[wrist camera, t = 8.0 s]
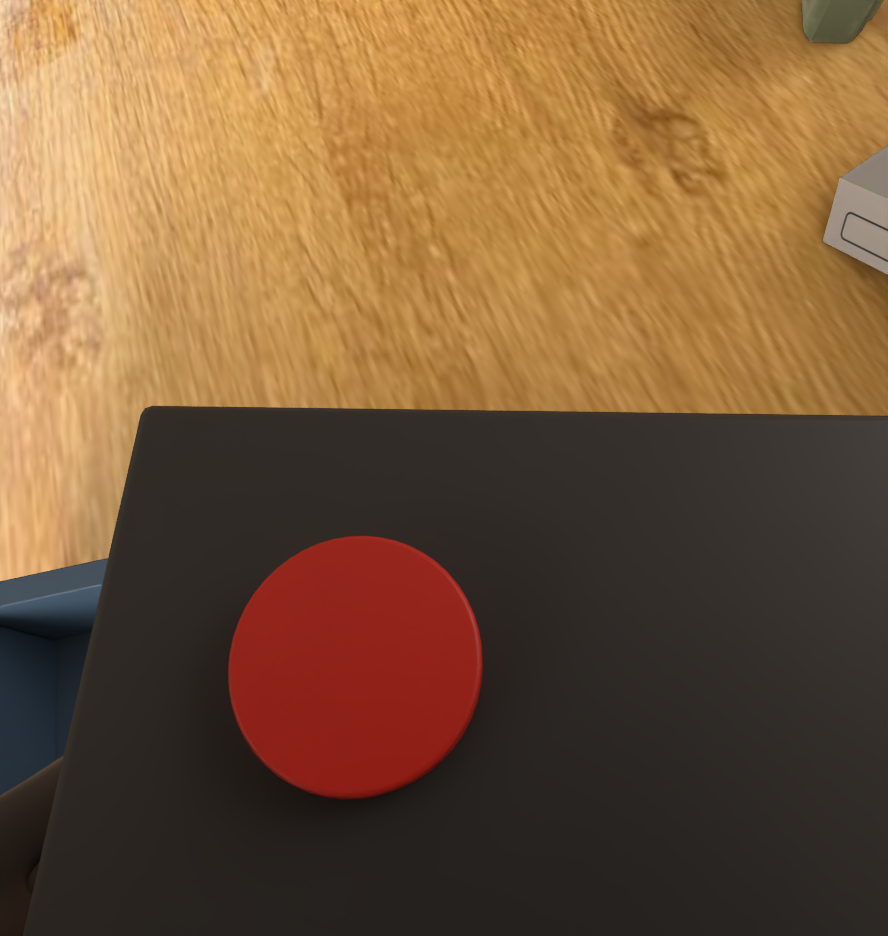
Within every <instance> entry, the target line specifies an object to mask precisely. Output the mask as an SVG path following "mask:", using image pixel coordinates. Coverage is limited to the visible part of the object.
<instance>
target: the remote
mask: <svg viewBox="0 0 888 936" xmlns="http://www.w3.org/2000/svg"><path fill="white" fill-rule="evenodd" d="M23 936H888V416H854V415H780V414H706V413H632V412H558V411H485V410H411V409H337V408H263V407H189V406H151V407H148V408H145V409H144V411H143V412H142V414H141V416H140V421H139V425H138V430H137V434H136V438H135V443H134V447H133V452H132V456H131V460H130V465H129V469H128V474H127V478H126V482H125V487H124V491H123V496H122V500H121V505H120V509H119V513H118V518H117V522H116V527H115V531H114V535H113V540H112V544H111V549H110V553H109V558H108V562H107V566H106V571H105V575H104V580H103V584H102V588H101V593H100V597H99V602H98V606H97V610H96V615H95V619H94V624H93V628H92V633H91V637H90V641H89V646H88V650H87V655H86V659H85V663H84V668H83V672H82V677H81V681H80V686H79V690H78V694H77V699H76V703H75V708H74V712H73V716H72V721H71V725H70V730H69V734H68V738H67V743H66V747H65V752H64V756H63V761H62V765H61V769H60V774H59V778H58V783H57V787H56V791H55V796H54V800H53V805H52V809H51V813H50V818H49V822H48V827H47V831H46V836H45V840H44V844H43V849H42V853H41V858H40V862H39V866H38V871H37V875H36V880H35V884H34V889H33V893H32V897H31V902H30V906H29V911H28V915H27V919H26V924H25V928H24V933H23Z"/></svg>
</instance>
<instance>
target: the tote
mask: <svg viewBox="0 0 888 936" xmlns="http://www.w3.org/2000/svg"><path fill="white" fill-rule="evenodd" d="M107 562H108V558H107V559H102V560H97V561H93V562H88V563H84V564H79V565H74V566H70V567H65V568H60V569H56V570H51V571H47V572H42V573H37V574H33V575H28V576H23V577H19V578H14V579H10V580H5V581H0V796H1V795H2V794H4V793H5V792H7V791H9V790H10V789H12V788H14V787H15V786H17V785H19V784H20V783H22V782H24V781H25V780H27V779H29V778H30V777H32V776H33V775H35V774H36V773H38V772H39V771H41V770H42V769H44V768H45V767H47V766H49V765H50V764H52V763H53V762H55V761H56V760H58V759H59V758H61V757H62V756H64V752H65V747H66V743H67V738H68V734H69V730H70V725H71V721H72V716H73V712H74V708H75V703H76V699H77V694H78V690H79V686H80V681H81V677H82V672H83V668H84V663H85V659H86V655H87V650H88V646H89V641H90V637H91V633H92V628H93V624H94V619H95V615H96V610H97V606H98V602H99V597H100V593H101V588H102V584H103V580H104V575H105V571H106V566H107Z"/></svg>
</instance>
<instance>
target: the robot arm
mask: <svg viewBox="0 0 888 936" xmlns="http://www.w3.org/2000/svg"><path fill="white" fill-rule="evenodd" d="M62 761H63V756H62V757H61V758H59V759H58V760H56V761H55V762H53V763H52V764H50V765H49V766H47V767H45V768H44V769H42V770H41V771H39V772H38V773H36V774H35V775H33V776H32V777H30V778H29V779H27V780H25V781H24V782H22V783H20V784H19V785H17V786H15V787H14V788H12V789H10V790H9V791H7V792H5V793H4V794H2V795H1V796H0V936H23V933H24V928H25V924H26V919H27V915H28V911H29V906H30V902H31V897H32V893H33V889H34V884H35V880H36V875H37V871H38V866H39V862H40V858H41V853H42V849H43V844H44V840H45V836H46V831H47V827H48V822H49V818H50V813H51V809H52V805H53V800H54V796H55V791H56V787H57V783H58V778H59V774H60V769H61V765H62Z"/></svg>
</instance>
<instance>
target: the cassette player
mask: <svg viewBox="0 0 888 936" xmlns="http://www.w3.org/2000/svg"><path fill="white" fill-rule="evenodd" d="M823 242H824V243H826V244H828V245H830V246H832V247H834V248H836V249H838V250H840V251H842V252H844V253H846V254H848V255H850V256H852V257H854V258H856V259H858V260H860V261H862V262H863V263H865V264H867V265H869V266H871V267H873V268H875V269H877V270H879V271H881V272H883V273H885V274H887V275H888V146H886V147H885V148H883V149H882V150H880V151H879V152H877V153H876V154H874V155H873V156H871V157H870V158H868V159H867V160H865V161H864V162H862V163H861V164H859V165H858V166H857V167H855V168H854V169H852V170H851V171H849V172H848V173H846V174H845V175H843V176H842V177H840V179H839V183H838V187H837V190H836V194H835V198H834V201H833V205H832V209H831V212H830V216H829V220H828V223H827V227H826V231H825V234H824V238H823Z"/></svg>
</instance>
